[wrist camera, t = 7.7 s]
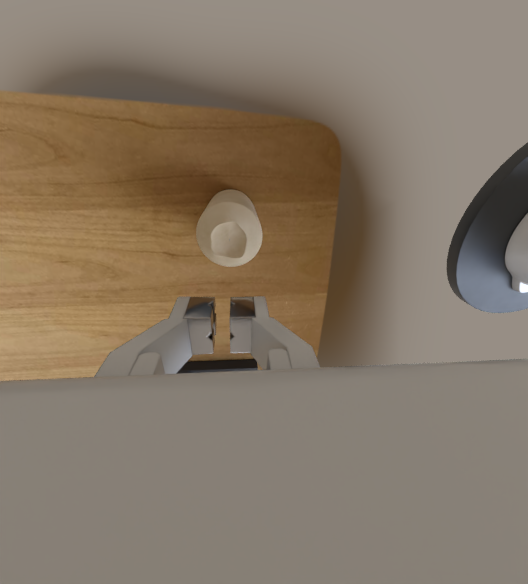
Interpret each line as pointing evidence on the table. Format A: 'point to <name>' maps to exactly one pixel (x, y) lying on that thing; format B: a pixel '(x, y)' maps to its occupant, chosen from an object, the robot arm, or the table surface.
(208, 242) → the candle
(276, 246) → the table surface
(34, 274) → the table surface
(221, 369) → the scale
